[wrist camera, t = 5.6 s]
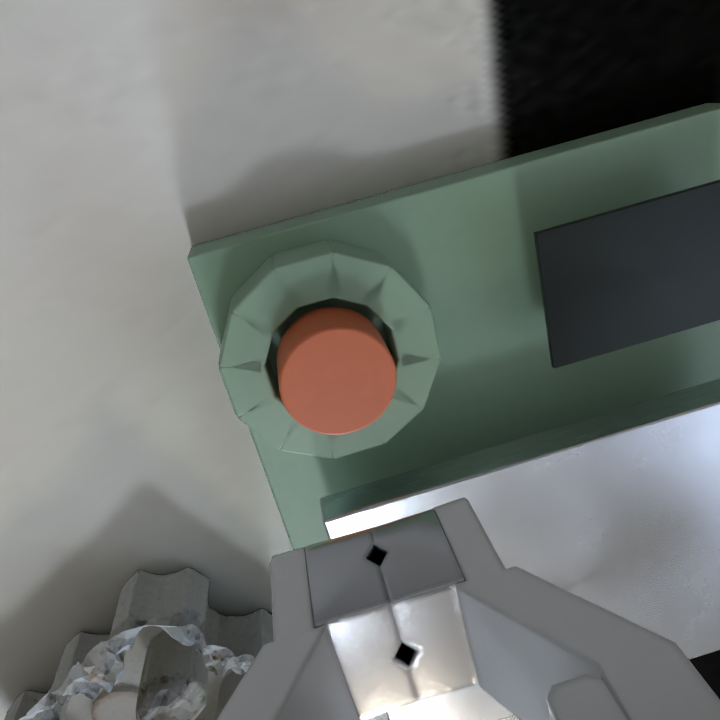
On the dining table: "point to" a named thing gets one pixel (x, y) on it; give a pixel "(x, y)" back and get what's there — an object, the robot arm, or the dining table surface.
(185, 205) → the dining table surface
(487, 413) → the scale
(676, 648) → the robot arm
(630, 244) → the scale pan
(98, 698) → the egg carton
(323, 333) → the button
